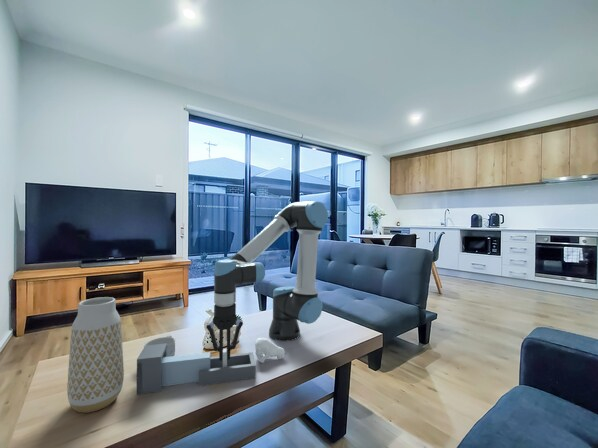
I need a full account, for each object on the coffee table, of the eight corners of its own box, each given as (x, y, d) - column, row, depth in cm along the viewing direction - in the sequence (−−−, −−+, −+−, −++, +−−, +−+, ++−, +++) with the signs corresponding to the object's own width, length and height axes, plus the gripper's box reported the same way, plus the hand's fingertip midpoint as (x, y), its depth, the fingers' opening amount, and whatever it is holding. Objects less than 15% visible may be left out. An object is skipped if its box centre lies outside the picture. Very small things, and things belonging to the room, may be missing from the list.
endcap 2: (252, 363, 107) (252, 352, 107) (255, 378, 98) (255, 365, 97) (200, 370, 102) (200, 358, 102) (198, 385, 92) (198, 372, 92)
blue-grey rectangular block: (210, 374, 100) (210, 352, 100) (209, 380, 96) (209, 357, 96) (148, 382, 95) (148, 358, 94) (145, 388, 91) (145, 364, 91)
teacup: (162, 371, 101) (162, 350, 101) (136, 368, 103) (137, 346, 103) (185, 353, 114) (185, 334, 114) (162, 350, 116) (162, 332, 116)
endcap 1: (166, 374, 99) (167, 343, 99) (160, 391, 89) (161, 356, 89) (145, 377, 97) (145, 345, 97) (136, 394, 87) (136, 359, 87)
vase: (105, 384, 93) (105, 292, 92) (133, 394, 87) (134, 298, 87) (56, 409, 80) (56, 304, 80) (86, 424, 75) (86, 311, 74)
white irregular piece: (256, 334, 113) (285, 336, 115) (253, 355, 113) (282, 356, 115) (255, 341, 107) (286, 343, 109) (253, 363, 107) (284, 364, 109)
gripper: (242, 299, 105) (242, 360, 105) (206, 301, 101) (206, 365, 102) (244, 305, 97) (243, 371, 98) (205, 308, 94) (205, 376, 94)
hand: (224, 368), depth 100 cm, fingers closed
